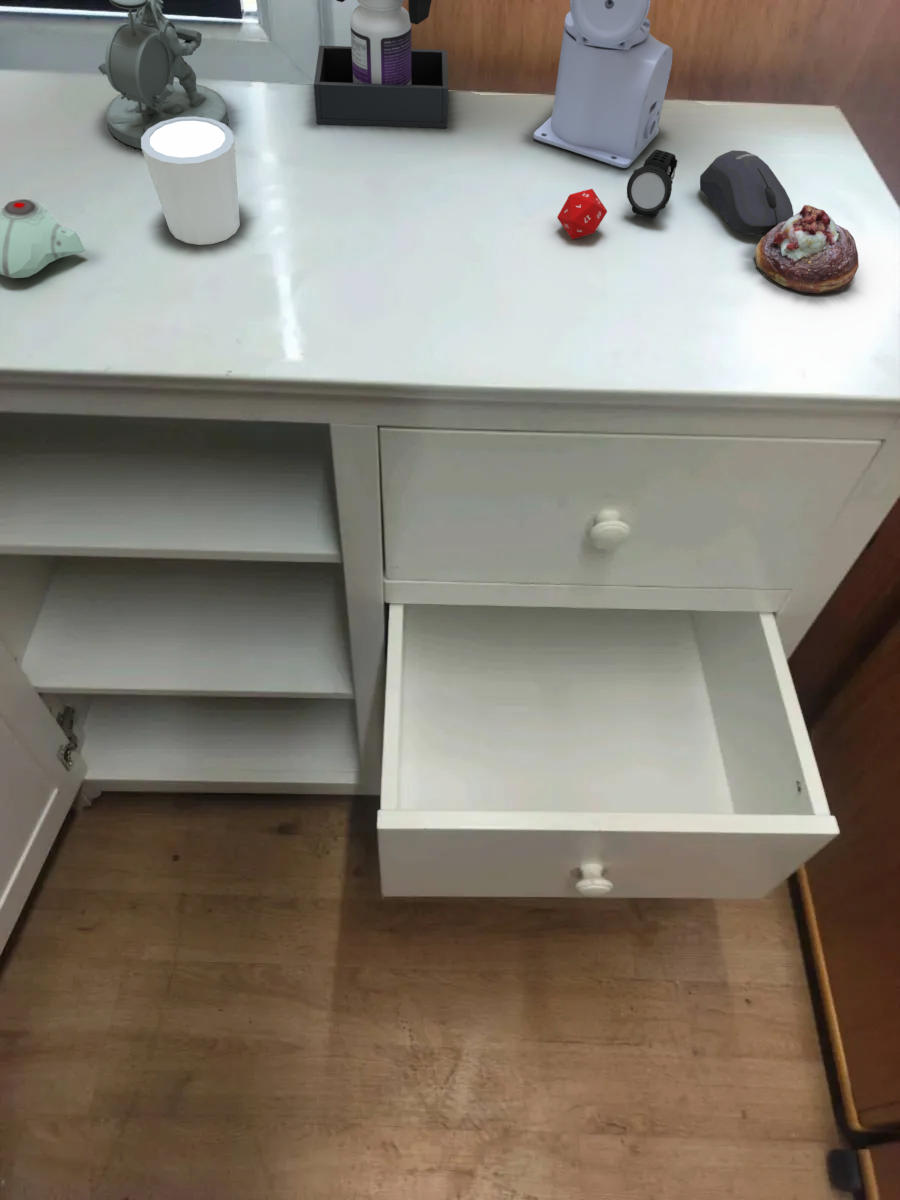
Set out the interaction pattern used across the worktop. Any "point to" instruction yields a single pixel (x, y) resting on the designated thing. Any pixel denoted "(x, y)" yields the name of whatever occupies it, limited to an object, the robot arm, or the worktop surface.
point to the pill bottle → (381, 42)
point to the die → (582, 213)
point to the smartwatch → (652, 184)
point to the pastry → (808, 253)
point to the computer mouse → (746, 192)
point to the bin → (381, 92)
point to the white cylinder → (194, 177)
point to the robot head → (32, 239)
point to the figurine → (153, 73)
